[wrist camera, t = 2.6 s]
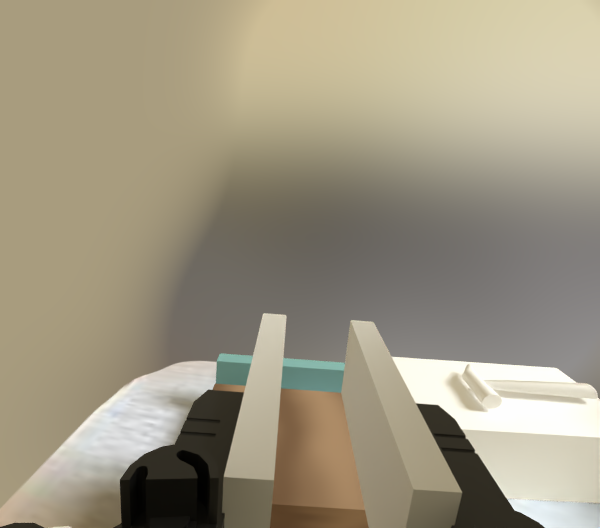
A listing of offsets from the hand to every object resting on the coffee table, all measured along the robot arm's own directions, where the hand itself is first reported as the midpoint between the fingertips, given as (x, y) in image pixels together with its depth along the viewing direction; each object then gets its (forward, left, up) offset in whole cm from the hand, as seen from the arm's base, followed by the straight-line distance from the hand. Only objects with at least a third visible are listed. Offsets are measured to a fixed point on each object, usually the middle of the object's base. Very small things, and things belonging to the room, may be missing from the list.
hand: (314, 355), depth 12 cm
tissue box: (-26, -28, -26) cm, 46 cm away
